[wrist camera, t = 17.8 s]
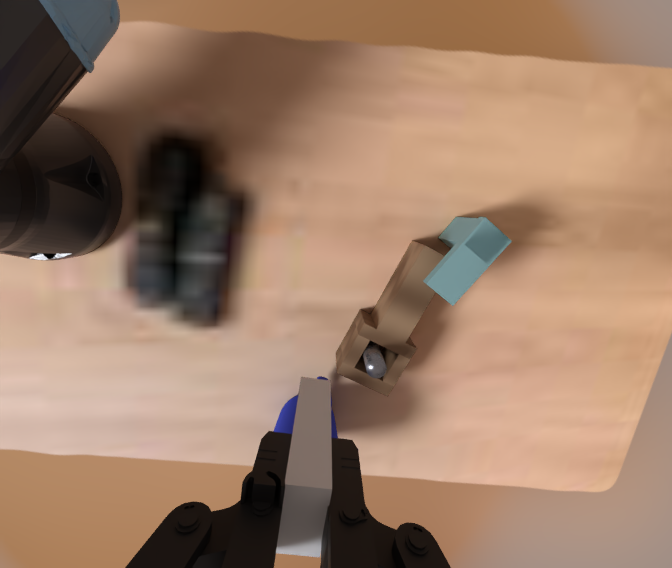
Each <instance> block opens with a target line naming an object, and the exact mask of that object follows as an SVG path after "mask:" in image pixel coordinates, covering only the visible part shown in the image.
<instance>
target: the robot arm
mask: <svg viewBox="0 0 672 568" xmlns="http://www.w3.org/2000/svg"><path fill="white" fill-rule="evenodd" d="M119 22H120V10H119V6H118V2H117V0H0V253H1V254H6V255H12V256H18V257H24V258H30V259H36V260H60V259H66V258H71V257H76V256H80V255H84V254H86V253H89V252H91V251H93V250H95V249H96V248H98V247H99V246H100V245H102V244H103V243H104V242H105V241H106V240H107V239H108V238H109V236H110V235H111V234H112V232H113V231H114V229H115V227H116V225H117V222H118V220H119V216H120V212H121V206H122V192H121V185H120V180H119V177H118V174H117V171H116V168H115V166H114V164H113V162H112V160H111V158H110V156H109V155H108V153H107V152H106V150H105V149H104V148H103V146H102V145H101V144H100V143H99V142H98V141H97V140H96V139H95V137H93V136H92V135H91V134H90V133H89V132H88V131H87V130H85V129H84V128H83V127H81V126H80V125H78V124H76V123H75V122H73V121H71V120H69V119H67V118H65V117H62V116H59V115H56V114H53V111H54V110H55V109H56V108H57V107H58V106H59V104H60V103H61V102H62V101H63V100H64V99H65V97H66V96H67V95H68V94H69V93H70V92H71V90H72V89H73V88H74V87H75V86H76V85H77V83H78V82H79V81H80V80H81V79H82V78H83V76H84V75H85V74H86V73H87V72H89V73H91V72H92V71H93V70H94V61H95V60H96V58H97V57H98V56H99V54H100V53H101V52H102V50H103V49H104V47H105V46H106V45H107V43H108V42H109V41H110V39H111V38H112V37H113V35H114V34H115V32H116V31H117V29H118V26H119ZM276 553H281V554H291V555H302V556H312V557H320V553H321V566H320V568H450V565H449V564H448V562H447V560H446V558H445V556H444V554H443V553H442V551H441V549H440V547H439V545H438V543H437V542H436V540H435V539H434V537H433V536H432V535H431V533H430V532H429V531H427V530H426V529H425V528H424V527H422V526H420V525H418V524H415V523H404V524H402V525H400V526H399V528H398V529H397V530H395V529H393V528H390V527H388V526H386V525H384V524H382V523H380V522H378V521H377V520H376V519H375V518H373V517H372V516H371V514H370V513H369V510H368V509H367V507H366V505H365V502H364V494H363V486H362V478H361V470H360V462H359V454H358V449H357V447H356V446H355V444H354V442H353V441H352V440H347V439H339V438H331V381H330V380H322V379H314V378H306V377H301V382H300V388H299V395H298V401H297V407H296V414H295V420H294V426H293V433H292V434H289V433H281V432H272V431H269V432H268V433H267V434H266V435H265V436H264V437H263V438H262V439H261V442H260V446H259V450H258V453H257V456H256V460H255V463H254V467H253V470H252V472H250V473H249V474H248V475H247V476H246V477H245V479H244V481H243V484H242V493H241V500H240V501H239V502H238V503H236V504H235V505H233V506H231V507H229V508H226V509H222V510H217V511H213V512H211V510H210V509H209V507H208V506H207V505H205V504H203V503H201V502H188V503H184V504H182V505H180V506H178V507H176V508H175V509H174V510H173V511H172V512H171V513H169V515H168V516H167V517H166V518H165V519H164V520H163V522H162V523H161V524H160V525H159V527H158V528H157V529H156V530H155V532H154V533H153V534H152V535H151V537H150V538H149V539H148V540H147V541H146V543H145V544H144V545H143V546H142V548H141V549H140V550H139V551H138V553H137V554H136V555H135V556H134V557H133V559H132V560H131V561H130V562H129V564H128V565H127V566H126V568H274V562H275V555H276Z"/></svg>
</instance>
